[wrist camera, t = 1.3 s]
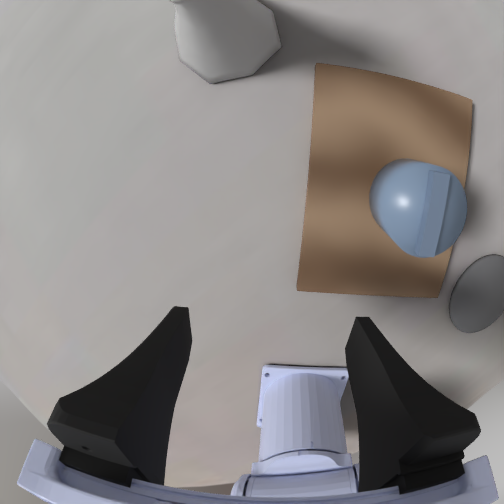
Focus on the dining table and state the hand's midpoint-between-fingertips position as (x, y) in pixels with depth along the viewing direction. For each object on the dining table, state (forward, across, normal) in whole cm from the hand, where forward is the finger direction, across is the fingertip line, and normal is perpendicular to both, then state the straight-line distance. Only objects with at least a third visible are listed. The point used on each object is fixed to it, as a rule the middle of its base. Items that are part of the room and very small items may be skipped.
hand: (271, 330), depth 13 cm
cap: (+8, -8, -4) cm, 12 cm away
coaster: (+9, -20, +4) cm, 22 cm away
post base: (+10, -8, -4) cm, 14 cm away
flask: (+13, +4, -13) cm, 19 cm away
